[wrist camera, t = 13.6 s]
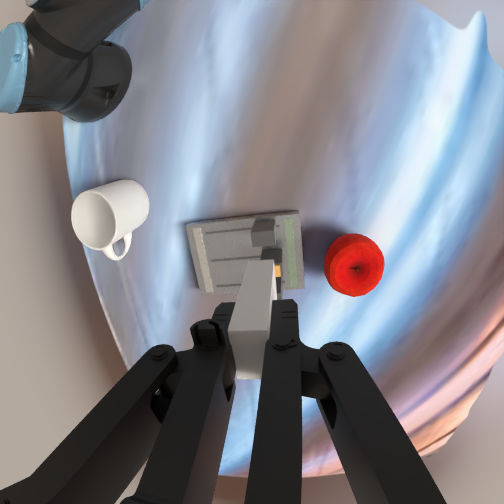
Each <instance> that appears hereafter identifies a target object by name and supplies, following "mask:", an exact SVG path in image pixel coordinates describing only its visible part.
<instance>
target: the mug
mask: <svg viewBox="0 0 504 504" xmlns="http://www.w3.org/2000/svg"><path fill="white" fill-rule="evenodd" d="M148 212H149V199H148V196H147V194H146V192H145V190H144V189H143V187H142V186H141V185H140V184H138V183H137V182H135V181H133V180H128V179H124V180H119V181H115V182H112V183H109V184H105V185H102V186H99V187H96V188H93V189H90V190H87V191H84V192H82V193H81V194H79V195H78V196H77V198H76V199H75V201H74V203H73V206H72V210H71V221H72V226H73V229H74V231H75V234H76V235H77V237H78V238H79V240H80V241H81V242H82V243H83V244H84V245H85V246H87V247H89V248H91V249H94V250H102V251H103V252H104V253H105V255H106V256H107V257H109V258H110V259H112V260H120V259H121V258H123V257H124V256H125V254H126V253H127V251H128V249H129V247H130V244H131V238H132V231H133V230H134V229H136V228H137V227H139V226H140V225H141V224H142V223H143V222H144V221H145V219H146V218H147V215H148ZM122 237H123V239H124V243H125V249H124V252H123V254H122V255H121V256H116V255H115V253H114V251H113V247H112V244H113V243H115V242H116V241H118V240H119V239H121V238H122Z"/></svg>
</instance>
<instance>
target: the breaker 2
mask: <svg viewBox="0 0 504 504" xmlns="http://www.w3.org/2000/svg"><path fill="white" fill-rule="evenodd" d="M275 279H276V291H277V300H282V278H281V277H275Z"/></svg>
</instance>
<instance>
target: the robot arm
mask: <svg viewBox="0 0 504 504" xmlns="http://www.w3.org/2000/svg"><path fill="white" fill-rule="evenodd" d="M149 1H150V0H26V5H27V6H29V7H31V8H33V9H34V10H33V12H32V13H31V14H30V15H29V16H28V18H27V19H26V20H25V21H24V23H21V22H16V23H11V24H9V25H8V26H7V27H5V28H4V29H3V30H2V31H1V32H0V112H8V113H9V114H12V113H20V112H41V111H58V112H60V113H62V114H63V115H65V116H67V117H69V118H70V119H72V120H74V121H78V122H94V121H98V120H100V119H102V118H104V117H106V116H107V115H109V114H110V113H111V112H112V111H113V110H114V109H115V108H116V107H117V106H118V105H119V103H120V102H121V100H122V99H123V97H124V95H125V94H126V92H127V89H128V87H129V84H130V80H131V74H132V64H131V59H130V57H129V54H128V53H127V51H126V50H125V49H124V48H123V47H121V46H120V45H118V44H115V43H113V42H110V41H103V40H104V39H106V38H107V37H108V36H109V35H110V34H111V33H112V32H113V31H114V30H115V29H116V28H118V27H119V26H120V25H121V24H122V23H123V22H125V21H126V20H127V19H128V18H129V17H131V16H132V15H133V14H134V13H135V12H137V11H138V10H139V11H140V10H141V9H142V8H143V7H144V5H145V4H147V3H148V2H149ZM190 331H191V335H192V338H193V342H194V347H193V348H192V349H190V350H186V351H180V352H175V349H174V348H173V347H172V346H170V345H165V344H162V345H157V346H154V347H152V348H151V349H149V350H148V351H147V352H146V353H145V354H144V355H143V356H142V357H141V358H140V359H139V360H138V361H137V362H136V363H135V365H134V366H133V367H132V368H131V369H130V370H129V371H128V372H127V373H126V374H125V375H124V376H123V377H122V378H121V379H120V381H119V382H118V383H117V384H116V385H115V386H114V387H113V388H112V389H111V390H110V391H109V392H108V393H107V394H106V395H105V396H104V397H103V398H102V400H101V401H100V402H99V403H98V404H97V405H96V406H95V407H94V408H93V409H92V410H91V411H90V412H89V414H87V416H86V417H85V418H84V419H83V420H82V421H81V422H80V423H79V424H78V425H77V426H76V427H75V429H73V430H72V432H71V433H70V434H69V435H68V436H67V437H66V438H65V439H64V440H63V441H62V442H61V443H60V445H59V446H58V447H57V448H56V449H55V450H54V451H53V452H52V453H51V454H50V455H49V457H47V459H46V460H45V461H44V462H43V463H42V464H41V465H40V466H39V467H38V468H37V469H36V471H35V472H34V473H33V474H32V475H31V476H30V477H28V478H25V479H24V480H22V481H19V482H17V483H15V484H13V485H11V486H9V487H6V488H4V489H2V490H0V504H114V503H115V502H116V501H117V500H118V498H119V497H120V495H121V494H122V493H123V492H124V490H125V489H126V488H127V486H128V485H129V484H130V482H131V481H132V480H133V478H134V477H135V476H136V474H137V473H138V471H139V470H140V469H141V467H142V466H143V465H144V463H145V462H146V460H147V459H148V458H149V459H148V462H147V464H146V467H145V469H144V472H143V475H142V477H141V480H140V483H139V485H138V488H137V490H136V492H135V494H134V495H133V496H130V497H127V498H125V499H123V500H122V501H121V503H120V504H212V500H213V495H214V490H215V486H216V481H217V477H218V472H219V467H220V462H221V458H222V453H223V448H224V443H225V438H226V434H227V429H228V424H229V419H230V414H231V409H232V404H233V399H234V394H235V389H236V385H235V380H234V378H235V373H236V374H237V379H261V386H260V394H259V402H258V410H257V418H256V426H255V433H254V441H253V448H252V455H251V462H250V469H249V476H248V483H247V490H246V496H245V503H244V504H301V485H302V396H305V397H310V398H315V399H316V402H317V404H318V407H319V409H320V411H321V414H322V416H323V419H324V421H325V424H326V426H327V429H328V431H329V434H330V436H331V439H332V441H333V444H334V446H335V449H336V451H337V454H338V456H339V459H340V461H341V464H342V466H343V469H344V471H345V474H346V476H347V479H348V481H349V484H350V486H351V489H352V491H353V493H354V496H355V498H356V501H357V504H447V503H446V502H445V500H444V498H443V496H442V494H441V493H440V491H439V489H438V487H437V485H436V484H435V482H434V480H433V478H432V476H431V475H430V473H429V471H428V470H427V468H426V466H425V464H424V463H423V461H422V459H421V457H420V456H419V454H418V452H417V451H416V449H415V447H414V446H413V444H412V442H411V441H410V439H409V437H408V436H407V434H406V432H405V431H404V429H403V427H402V426H401V424H400V422H399V421H398V419H397V418H396V416H395V414H394V413H393V411H392V409H391V408H390V406H389V405H388V403H387V401H386V400H385V398H384V397H383V395H382V393H381V392H380V390H379V389H378V387H377V386H376V384H375V382H374V381H373V379H372V378H371V376H370V375H369V373H368V371H367V370H366V368H365V367H364V365H363V364H362V362H361V361H360V359H359V358H358V356H357V354H356V353H355V351H354V350H353V348H352V347H350V346H349V345H348V344H346V343H343V342H330V343H327V344H325V345H323V346H322V347H321V348H320V349H314V348H310V347H308V346H306V345H304V344H303V343H302V342H301V341H300V338H299V324H298V307H297V304H296V302H295V301H294V300H293V299H285V300H277V291H276V279H275V267H274V259H272V260H256V261H248V263H247V266H246V269H245V273H244V276H243V280H242V283H241V286H240V290H239V293H238V297H237V300H236V302H227V303H221V304H220V305H219V306H218V307H216V309H215V311H214V314H213V316H212V319H206V320H201V321H198V322H196V323H195V324H193V325H192V326H191V328H190ZM158 389H159V390H158ZM157 390H158V391H157ZM156 391H157V392H156Z"/></svg>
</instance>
